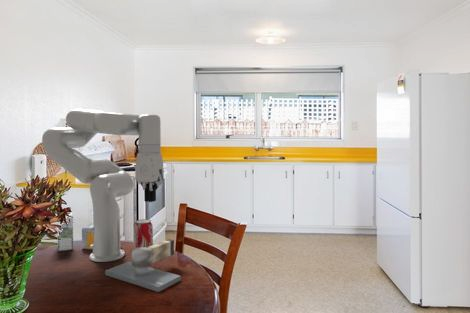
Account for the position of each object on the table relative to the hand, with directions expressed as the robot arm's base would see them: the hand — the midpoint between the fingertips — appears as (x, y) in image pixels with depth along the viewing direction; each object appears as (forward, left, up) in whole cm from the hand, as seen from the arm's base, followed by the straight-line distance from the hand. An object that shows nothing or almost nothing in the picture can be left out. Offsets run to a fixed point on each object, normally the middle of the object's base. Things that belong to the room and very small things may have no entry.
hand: (150, 201), depth 125 cm
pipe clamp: (-30, +4, -23) cm, 38 cm away
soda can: (-14, +10, -23) cm, 29 cm away
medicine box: (-36, +2, -23) cm, 43 cm away
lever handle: (+6, -5, -19) cm, 21 cm away
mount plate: (+6, -10, -23) cm, 26 cm away
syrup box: (-42, -6, -23) cm, 48 cm away
